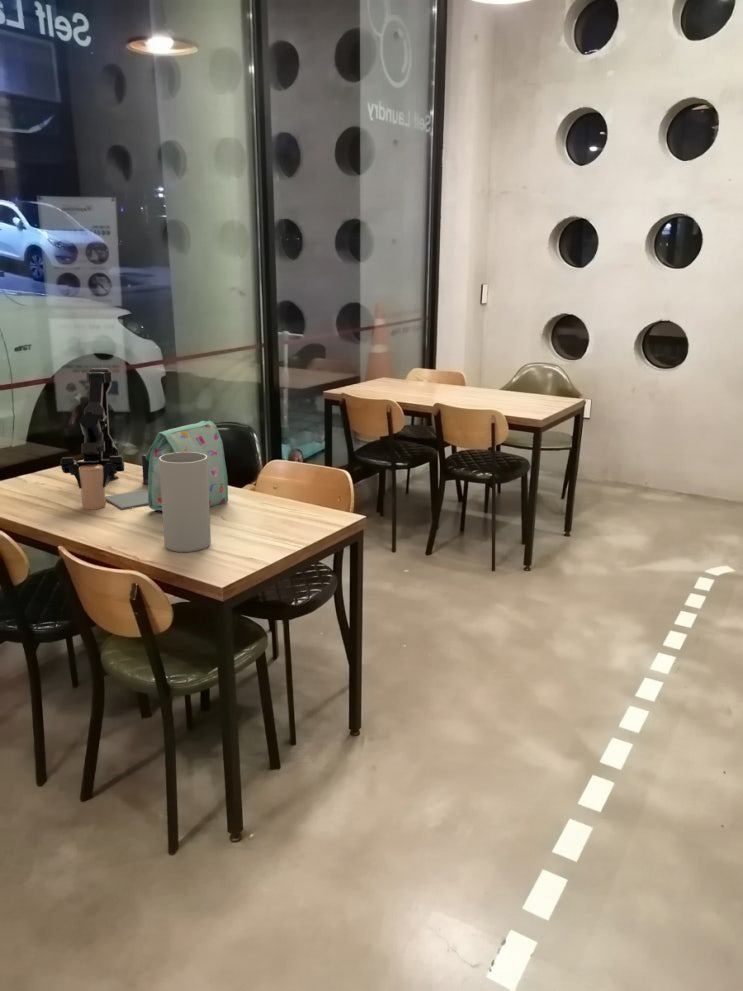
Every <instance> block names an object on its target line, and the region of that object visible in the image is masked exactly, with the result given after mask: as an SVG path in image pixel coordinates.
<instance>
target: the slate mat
mask: <svg viewBox="0 0 743 991" xmlns="http://www.w3.org/2000/svg"><path fill="white" fill-rule="evenodd" d="M105 499H106V502H108V501H109V503H110V502H111V503H110V504H111V505H113V504H114V505H113V506H115V507H117V508H118V507H119V508H118V509H120V510H121V511H122V510H123V511H124V510H126V509H127V508H128V509H132V507H133V508H138V506H139V507H143V505H144V506H149V505H148V488H147V489H141V490H135V491H129V492H124V493H117V494H112V495H107V496H106V495H105Z"/></svg>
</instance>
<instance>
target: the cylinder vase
mask: <svg viewBox="0 0 743 991" xmlns="http://www.w3.org/2000/svg"><path fill="white" fill-rule="evenodd" d="M159 464H160V481H161V497H162V526H163V542H164V543H163V544H164V547H165V548H166V549H167V550H168V551H171V552H172V551H173V552H178V553H190V552H191V553H192V552H198V551H201V550H204V549H206V548H208V547H209V545H210V544H211V542H212V538H211V515H210V507H209V487H208V464H207V455H205V454H202V453H197V452H176V453H169V454H165V455H162V456H161V457H159Z"/></svg>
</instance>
